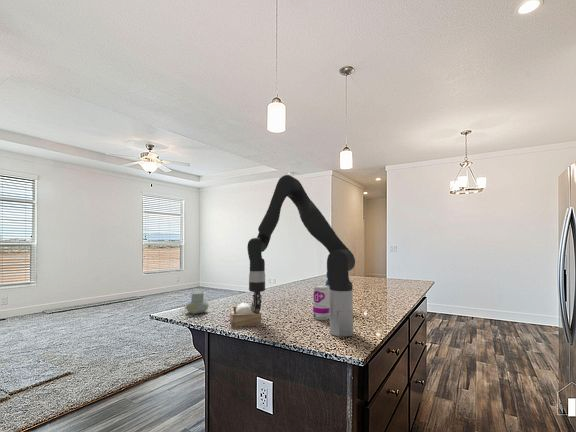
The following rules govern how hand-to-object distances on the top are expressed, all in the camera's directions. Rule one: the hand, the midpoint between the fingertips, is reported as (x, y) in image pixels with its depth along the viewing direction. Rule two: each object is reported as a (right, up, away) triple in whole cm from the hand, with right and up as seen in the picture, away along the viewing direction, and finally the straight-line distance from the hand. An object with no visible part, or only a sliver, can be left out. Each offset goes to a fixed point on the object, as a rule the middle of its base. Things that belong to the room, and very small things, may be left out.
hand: (256, 318), depth 144 cm
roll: (-6, +3, -1) cm, 6 cm away
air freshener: (-32, -2, +16) cm, 36 cm away
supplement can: (+31, -2, +5) cm, 31 cm away
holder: (-5, -1, -1) cm, 5 cm away
